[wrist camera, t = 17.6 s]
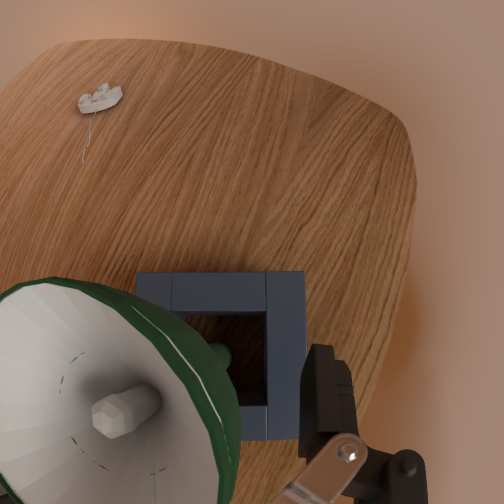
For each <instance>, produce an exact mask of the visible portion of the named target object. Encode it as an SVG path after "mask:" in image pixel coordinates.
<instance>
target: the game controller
mask: <svg viewBox="0 0 504 504" xmlns="http://www.w3.org/2000/svg"><path fill="white" fill-rule="evenodd" d="M122 95H123V94H122V91H121V88H120V86H117V87H114V88H113V89H111V90H110V87H109V84H108V83H105V84H103V85H101V86H99V87H98V90H97V91H96V92H95V93H94V95H93V97H91V95H90V94H84V95H83V96H81V98H80V100H79V102H78V107H79V109H80V111H81V113H92V112H95V114H96V112H97V111H100V110H104V109H107V108H109V107H112V106H113V105H115V104H116V103H117V102H118V101H119V100H120V98H121V97H122ZM94 117H95V115H94ZM94 117H93V118H94ZM91 121H92V119H91ZM91 121H90V124H91ZM89 134H90V125H89ZM89 141H90V136H89ZM88 145H89V142H88ZM88 145H87V147H88ZM85 149H86V148H85ZM84 152H85V150H84ZM83 157H84V153H83ZM82 164H83V159H82ZM83 165H85V164H83Z"/></svg>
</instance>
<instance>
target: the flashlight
mask: <svg viewBox="0 0 504 504" xmlns="http://www.w3.org/2000/svg"><path fill="white" fill-rule="evenodd" d="M232 360H233V352H232V350H231V348H230V347H229V345H227V344H226V343H223V342H219V341H218V342H212V343H207V342H206V341H205V340H204V338H203V337H202V336H201V335H200V333H199V332H197V331H196V330H195V329H193V328H192V327H191V326H189V325H188V324H187V323H185V322H184V321H183V320H182V319H180V318H179V317H178V316H177V315H175V314H174V313H173V312H171V311H169V310H166V309H164V308H162V307H159V306H157V305H155V304H153V303H151V302H148V301H146V300H144V299H142V298H140V297H138V296H135V295H133V294H131V293H128V292H124V291H121V290H118V289H115V288H112V287H109V286H105V285H102V284H98V283H92V282H86V281H80V280H74V279H69V278H60V277H55V276H54V277H49V278H43V279H38V280H33V281H27V282H23V283H18V284H16V285H15V286H13V287H12V288H10V289H8V290H7V291H5V292H4V293H2V294H1V295H0V483H1V485H2V486H3V488H4V489H5V491H6V492H7V493H8V495H9V496H10V497H11V498H12V499H13V501H14V502H15V503H16V504H229V502H230V501H231V499H232V497H233V493H234V487H235V482H236V477H237V471H238V466H239V457H240V447H241V438H242V420H241V415H240V410H239V404H238V399H237V394H236V390H235V388H234V386H233V384H232V382H231V380H230V378H229V376H228V374H227V371H226V369H227V368H228V367H229V365H230V364H231V363H232Z"/></svg>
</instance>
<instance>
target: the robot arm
mask: <svg viewBox="0 0 504 504" xmlns="http://www.w3.org/2000/svg"><path fill="white" fill-rule="evenodd" d="M353 394H354V392H353V386H352V378H351V372H350V370H349V368H348V367H347V365H346V363H345V362H344V361H341V360H335V357H334V349H333V346H331V345H322V344H312V345H311V348H310V350H309V353H308V356H307V358H306V361H305V363H304V366H303V369H302V372H301V378H300V414H299V447H298V457H299V458H306V467H305V468H304V469H303V470H302V471H301V472H300V473H299V474H298V475H297V476H296V477H295V478H294V479H293V480H292V481H291V482H290V483H289V484H288V485H287V486H286V487H285V488H283V489H282V490H281V491H280V492H279V493H278V494H277V495H276V496H275V497H274V498H273V499H272V500H270V501H269V502H268V503H267V504H332V503H333V502H334V501H335V500H336V499H337V498H338V496H339V495H344V496H348V497H352V498H354V504H428V493H427V481H426V471H425V463H424V460H423V458H422V457H421V456H420V455H419V454H418V453H417V452H415V451H413V450H407V449H406V450H401V451H399V452H397V453H396V454H394V455H393V454H389V453H385V452H381V451H378V450H374V449H372V448H370V447H368V446H367V445H366V444H365V443H364V441H363V440H362V439H361V438H360V436H359V433H358V426H357V417H356V408H355V400H354V396H353ZM0 504H16V503H15V502H14V501H13V499H12V498H11V497H10V496H9V495H8V493H7V494H4V495H1V496H0Z"/></svg>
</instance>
